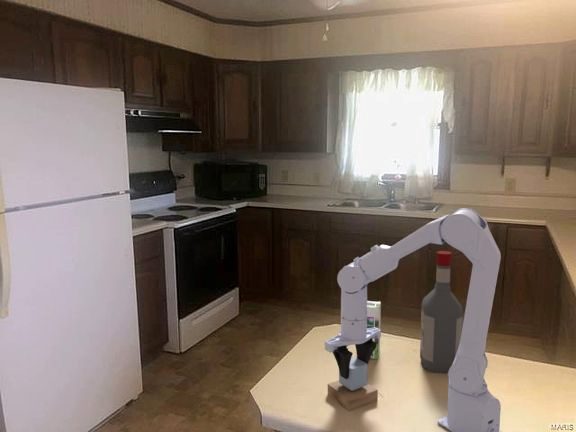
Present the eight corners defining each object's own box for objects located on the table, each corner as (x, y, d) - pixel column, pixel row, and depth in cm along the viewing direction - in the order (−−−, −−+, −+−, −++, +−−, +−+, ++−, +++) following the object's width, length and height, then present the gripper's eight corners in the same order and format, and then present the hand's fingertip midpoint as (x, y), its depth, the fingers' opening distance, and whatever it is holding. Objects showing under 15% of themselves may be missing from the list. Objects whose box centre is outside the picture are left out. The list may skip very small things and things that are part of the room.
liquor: (424, 372, 116) (428, 256, 112) (418, 356, 125) (422, 248, 121) (462, 374, 115) (467, 257, 111) (453, 358, 124) (458, 248, 120)
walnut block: (377, 402, 104) (377, 389, 103) (349, 412, 100) (349, 399, 99) (354, 386, 110) (355, 375, 110) (327, 396, 106) (327, 383, 106)
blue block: (367, 384, 104) (367, 363, 103) (352, 390, 101) (352, 369, 101) (354, 376, 108) (354, 356, 107) (339, 382, 105) (338, 361, 105)
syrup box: (356, 357, 125) (357, 305, 123) (359, 348, 131) (360, 299, 129) (378, 359, 123) (379, 307, 121) (380, 350, 129) (381, 300, 127)
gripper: (366, 305, 109) (365, 359, 111) (316, 317, 102) (316, 375, 104) (387, 314, 103) (386, 371, 105) (336, 327, 96) (335, 388, 98)
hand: (353, 374), depth 104 cm, fingers closed on blue block, 4 cm apart
